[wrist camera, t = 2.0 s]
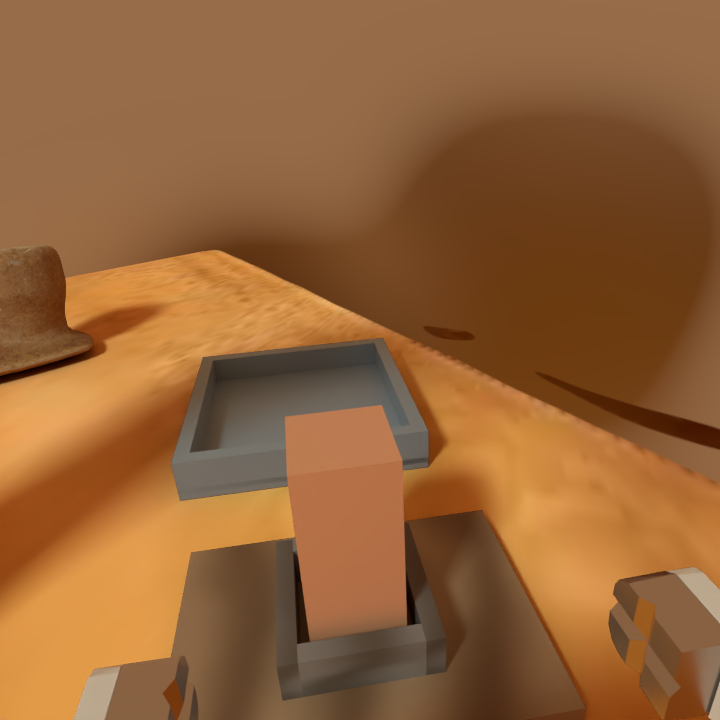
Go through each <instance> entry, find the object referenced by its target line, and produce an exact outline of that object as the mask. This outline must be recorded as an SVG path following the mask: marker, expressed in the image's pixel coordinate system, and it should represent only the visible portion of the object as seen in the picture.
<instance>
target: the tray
mask: <svg viewBox="0 0 720 720" xmlns="http://www.w3.org/2000/svg"><path fill="white" fill-rule="evenodd" d="M378 405H382V407H383V410H384V412H385V415H386V418H387V421H388V423H389V426H390V429H391V431H392V434H393V437H394V439H395V442H396V445H397V447H398V450H399V453H400V456H401V458H402V464H403V470H410V469H417V468H424V467H429V461H428V429H427V427H426V425H425V423H424V421H423V419H422V417H421V415H420V413H419V411H418V409H417V407H416V404H415V402H414V400H413V398H412V396H411V394H410V392H409V390H408V388H407V386H406V384H405V382H404V380H403V378H402V376H401V374H400V372H399V370H398V368H397V366H396V364H395V362H394V360H393V358H392V356H391V353H390V351H389V349H388V347H387V345H386V343H385V341H384V339H383V338H377V339H367V340H358V341H349V342H340V343H330V344H321V345H312V346H303V347H293V348H284V349H275V350H266V351H256V352H247V353H238V354H229V355H219V356H210V357H203V359H202V362H201V366H200V369H199V372H198V375H197V379H196V382H195V385H194V389H193V392H192V395H191V399H190V402H189V405H188V409H187V412H186V415H185V419H184V422H183V425H182V429H181V432H180V435H179V439H178V442H177V445H176V449H175V452H174V455H173V459H172V462H171V466H172V470H173V474H174V478H175V482H176V486H177V490H178V494H179V498H180V501H181V500H188V499H196V498H203V497H210V496H218V495H225V494H233V493H240V492H247V491H255V490H262V489H269V488H277V487H284V486H288V480H287V463H286V433H285V417H287V416H295V415H304V414H312V413H320V412H328V411H337V410H345V409H353V408H361V407H369V406H378Z"/></svg>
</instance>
